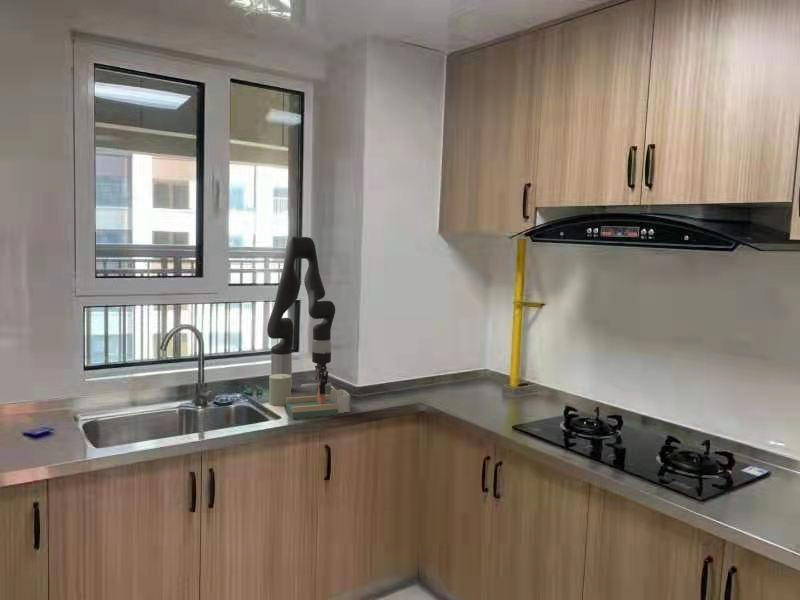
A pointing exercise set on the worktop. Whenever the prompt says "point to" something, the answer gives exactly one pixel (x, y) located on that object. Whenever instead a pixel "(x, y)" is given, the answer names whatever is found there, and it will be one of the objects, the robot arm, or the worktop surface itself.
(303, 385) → the kicker
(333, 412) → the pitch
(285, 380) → the can
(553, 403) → the worktop surface
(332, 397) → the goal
